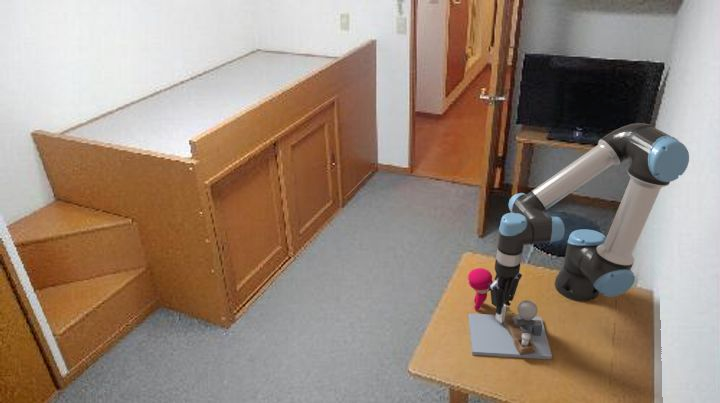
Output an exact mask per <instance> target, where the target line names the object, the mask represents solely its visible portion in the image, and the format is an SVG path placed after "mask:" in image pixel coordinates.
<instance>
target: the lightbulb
mask: <svg viewBox="0 0 720 403" xmlns="http://www.w3.org/2000/svg"><path fill="white" fill-rule="evenodd" d="M517 313H518V316H520V317H521V319H523V320H532V319H533V318H534V317H537V314H538V306H537V304H536V303H535V302H534V301H532V300H528V299H525V300H522V301H520V302H519V304H518V306H517ZM522 328H523V329H525V330H527V329H529V327H522Z"/></svg>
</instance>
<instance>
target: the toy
mask: <svg viewBox="0 0 720 403" xmlns="http://www.w3.org/2000/svg"><path fill="white" fill-rule="evenodd" d="M467 279H468V284H469V287H471V288H472V289H473V290H474V291H475V292H476V293H475V296H474V299H473V302H474V307H473V308H474V310H475V312H476V311H479V310H481V308H482V306H483V304H484V303H485V301H486V300H487V297H488V292H490V288H489V286H488V285H489V283H491V284H493V282H494V281H493V275H492V272H490V271H489V270H488V269H487V268H483V267H480V268H479V267H478V268H475V269H474V268H473V269H472V270H471V271H470V272H469V273H468V276H467Z"/></svg>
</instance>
